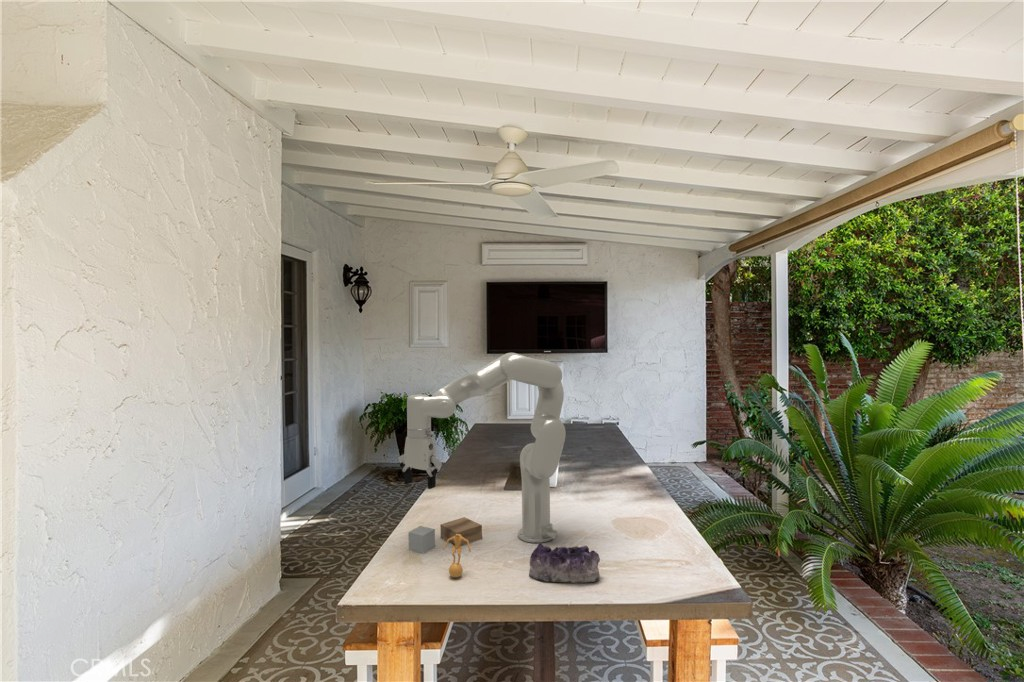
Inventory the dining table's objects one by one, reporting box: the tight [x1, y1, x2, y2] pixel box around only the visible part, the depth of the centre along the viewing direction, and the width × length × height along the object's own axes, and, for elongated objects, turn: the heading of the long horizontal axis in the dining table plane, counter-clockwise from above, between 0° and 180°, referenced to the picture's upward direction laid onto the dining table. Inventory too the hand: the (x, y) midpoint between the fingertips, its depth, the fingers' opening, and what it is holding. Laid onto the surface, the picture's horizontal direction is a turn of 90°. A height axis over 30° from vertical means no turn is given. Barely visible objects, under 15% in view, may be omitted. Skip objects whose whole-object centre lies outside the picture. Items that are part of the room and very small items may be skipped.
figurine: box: [443, 534, 472, 579], centre depth 164 cm, size 8×6×12 cm
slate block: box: [407, 525, 436, 555], centre depth 183 cm, size 6×6×6 cm
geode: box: [528, 542, 601, 584], centre depth 162 cm, size 20×12×10 cm, turn 91°
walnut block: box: [439, 516, 483, 547], centre depth 191 cm, size 10×10×5 cm
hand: (419, 485), depth 182 cm, fingers open, 9 cm apart
